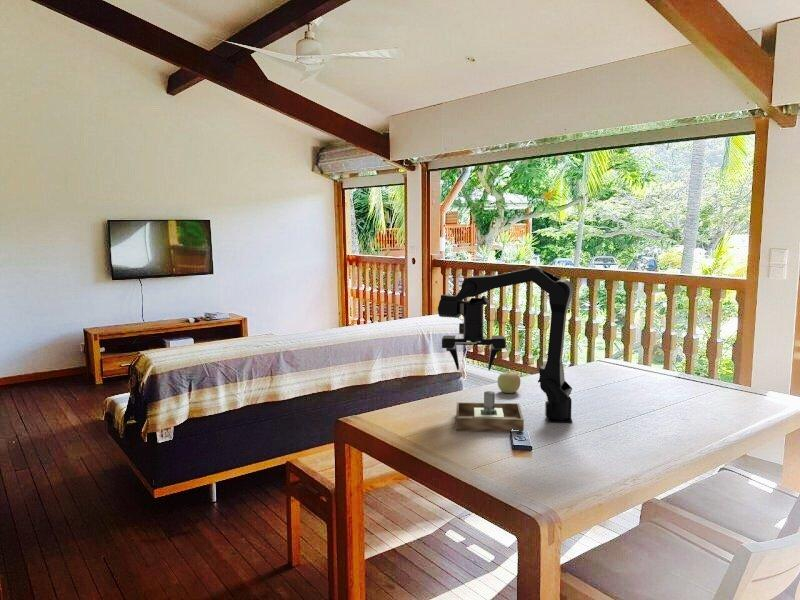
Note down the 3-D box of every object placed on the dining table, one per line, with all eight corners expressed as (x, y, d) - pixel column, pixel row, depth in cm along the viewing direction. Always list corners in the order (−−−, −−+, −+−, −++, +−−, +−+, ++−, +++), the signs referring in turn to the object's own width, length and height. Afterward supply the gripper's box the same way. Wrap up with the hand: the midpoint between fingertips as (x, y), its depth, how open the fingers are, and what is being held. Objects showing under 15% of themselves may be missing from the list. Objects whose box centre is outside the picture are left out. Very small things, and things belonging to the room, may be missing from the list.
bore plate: (502, 416, 171) (502, 408, 171) (503, 425, 163) (504, 417, 163) (474, 415, 172) (474, 407, 172) (474, 425, 164) (474, 416, 164)
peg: (493, 418, 169) (494, 391, 168) (494, 422, 166) (495, 394, 165) (483, 418, 169) (483, 391, 168) (483, 422, 166) (484, 394, 165)
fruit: (515, 396, 191) (515, 372, 190) (494, 393, 195) (494, 369, 194) (524, 390, 198) (524, 367, 197) (503, 387, 202) (503, 364, 200)
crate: (518, 414, 174) (518, 403, 173) (523, 432, 160) (523, 419, 159) (456, 413, 176) (456, 402, 175) (456, 430, 162) (456, 418, 161)
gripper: (503, 314, 183) (503, 363, 185) (442, 314, 185) (443, 363, 187) (506, 320, 172) (505, 373, 174) (441, 320, 174) (441, 372, 176)
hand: (473, 370), depth 178 cm, fingers open, 9 cm apart
